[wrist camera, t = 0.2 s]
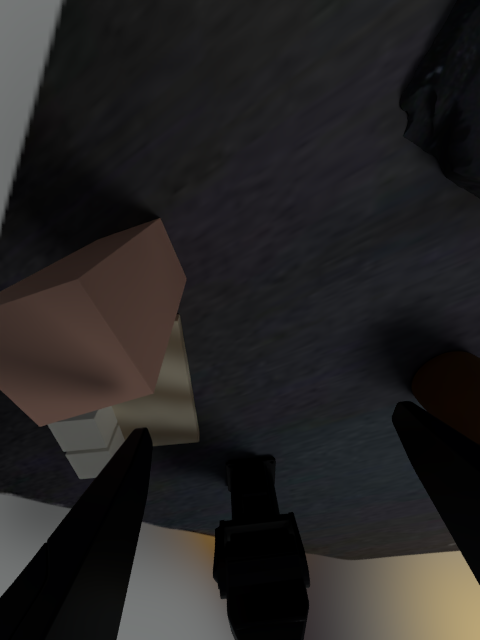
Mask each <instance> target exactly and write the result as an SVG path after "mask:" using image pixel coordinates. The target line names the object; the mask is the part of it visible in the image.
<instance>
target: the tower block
mask: <svg viewBox="0 0 480 640" xmlns="http://www.w3.org/2000/svg"><path fill="white" fill-rule="evenodd" d="M186 280H187V279H186V276H185V274H184V272H183V269H182V267H181V265H180V262H179V260H178V258H177V256H176V253H175V251H174V249H173V246H172V244H171V242H170V239H169V237H168V235H167V233H166V230H165V228H164V226H163V223H162V221H161V219H160V218H158V219H155V220H152V221H150V222H147V223H144V224H141V225H138V226H135V227H132V228H129V229H126V230H124V231H121V232H118V233H115V234H112V235H109V236H106V237H103V238H101V239H98V240H96V241H94V242H92V243H90V244H89V245H87V246H85V247H83V248H81V249H79V250H77V251H75V252H74V253H72V254H70V255H68V256H66V257H64V258H62V259H61V260H59V261H57V262H55V263H53V264H51V265H49V266H47V267H46V268H44V269H42V270H40V271H38V272H36V273H34V274H32V275H31V276H29V277H27V278H25V279H23V280H21V281H19V282H18V283H16V284H14V285H12V286H10V287H8V288H6V289H4V290H3V291H1V292H0V390H1V391H2V392H3V393H4V394H5V395H6V396H8V397H9V398H10V399H11V400H12V401H13V402H14V403H15V404H16V405H17V406H18V407H19V408H20V409H21V410H22V411H24V412H25V413H26V414H27V415H28V416H29V417H30V418H31V419H32V420H33V421H34V422H35V423H36V424H37V425H39V426H40V427H41V426H44V425H48V424H51V423H54V422H58V421H61V420H65V419H68V418H72V417H75V416H78V415H82V414H85V413H89V412H92V411H96V410H99V409H102V408H106V407H109V406H113V405H116V404H119V403H123V402H126V401H130V400H133V399H137V398H140V397H143V396H147V395H150V394H154V391H155V387H156V384H157V380H158V377H159V373H160V370H161V366H162V363H163V359H164V356H165V352H166V349H167V345H168V342H169V339H170V335H171V332H172V328H173V325H174V321H175V318H176V314H177V311H178V307H179V304H180V300H181V297H182V293H183V290H184V287H185V283H186Z"/></svg>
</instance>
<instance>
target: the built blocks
mask: <svg viewBox="0 0 480 640" xmlns="http://www.w3.org/2000/svg"><path fill="white" fill-rule="evenodd" d="M117 422H118V421H117V419H116V416H115V414H114V411H113V409H112V406H109V407H106V408H102V409H99V410H96V411H92V412H89V413H85V414H82V415H78V416H75V417H72V418H68V419H65V420H61V421H58V422H54V423H51V424H48V426H49V428H50V430H51V431H52V433H53V435H54V436H55V438H56V440H57V442H58V443H59V445H60V447H61V448H62V450H63V452H66V451H67V453H66V457H67V459H68V460H69V462H70V464H71V465H72V467H73V469H74V470H75V472H76V474H77V475H78V477H79V479H86V478H96V477H97V476H98V474H99V473H100V472H101V471H102V469H103V468H104V467H105V465H106V464H107V463H108V462H109V460H110V459H111V458H112V456H113V455H114V454H115V453H116V451H117V450H118V449H119V448H120V446H121V445H122V444H123V442H124V441H125V439H124V437H123V434H122V432H121V429H120V426H119V425H116V424H117Z"/></svg>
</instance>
